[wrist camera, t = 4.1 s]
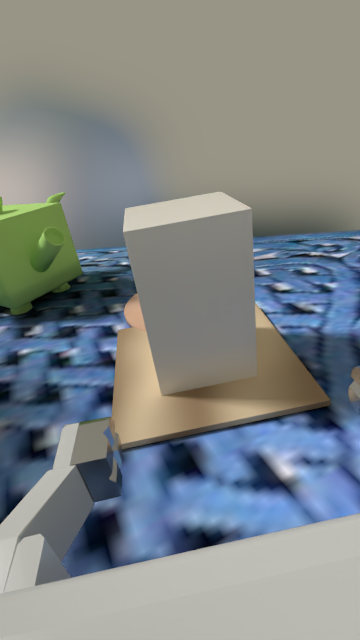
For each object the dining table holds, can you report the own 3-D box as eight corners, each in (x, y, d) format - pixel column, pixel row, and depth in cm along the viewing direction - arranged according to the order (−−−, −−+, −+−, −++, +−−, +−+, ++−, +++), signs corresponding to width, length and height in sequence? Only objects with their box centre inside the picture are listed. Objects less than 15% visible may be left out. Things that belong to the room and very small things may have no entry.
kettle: (-16, 286, 44) (-58, 201, 38) (87, 264, 46) (62, 179, 40) (-60, 342, 31) (-132, 226, 25) (87, 308, 33) (50, 193, 28)
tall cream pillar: (161, 395, 19) (122, 232, 15) (155, 342, 25) (125, 208, 20) (257, 375, 20) (251, 208, 15) (231, 327, 25) (220, 191, 20)
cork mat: (111, 451, 17) (109, 446, 17) (119, 334, 27) (118, 330, 27) (330, 405, 17) (330, 400, 17) (255, 307, 28) (255, 303, 28)
